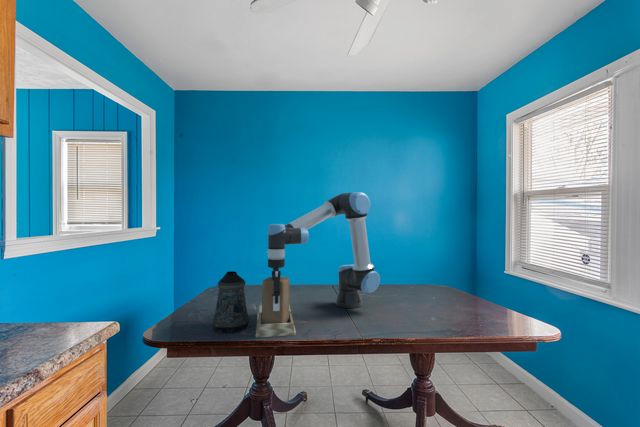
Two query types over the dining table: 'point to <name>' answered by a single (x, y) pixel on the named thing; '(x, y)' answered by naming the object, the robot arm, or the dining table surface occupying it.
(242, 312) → the beer stein
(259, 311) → the lid
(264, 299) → the wooden block
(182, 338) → the dining table surface
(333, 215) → the robot arm
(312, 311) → the dining table surface
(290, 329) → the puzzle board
